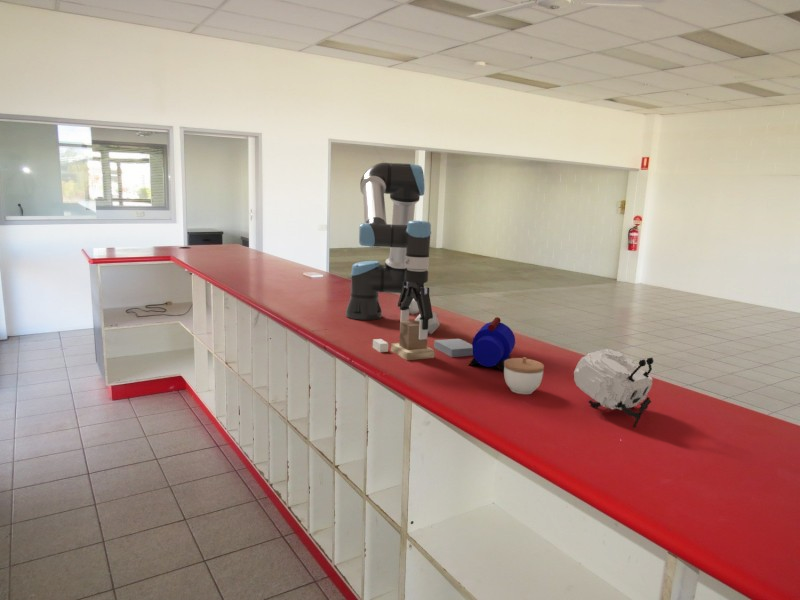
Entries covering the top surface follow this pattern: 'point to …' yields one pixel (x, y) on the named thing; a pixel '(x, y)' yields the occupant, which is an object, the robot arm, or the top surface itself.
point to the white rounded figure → (413, 307)
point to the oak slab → (412, 352)
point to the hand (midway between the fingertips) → (413, 334)
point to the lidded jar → (523, 374)
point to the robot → (614, 381)
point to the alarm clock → (493, 344)
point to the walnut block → (411, 336)
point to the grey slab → (454, 347)
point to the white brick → (380, 345)
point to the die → (431, 323)
